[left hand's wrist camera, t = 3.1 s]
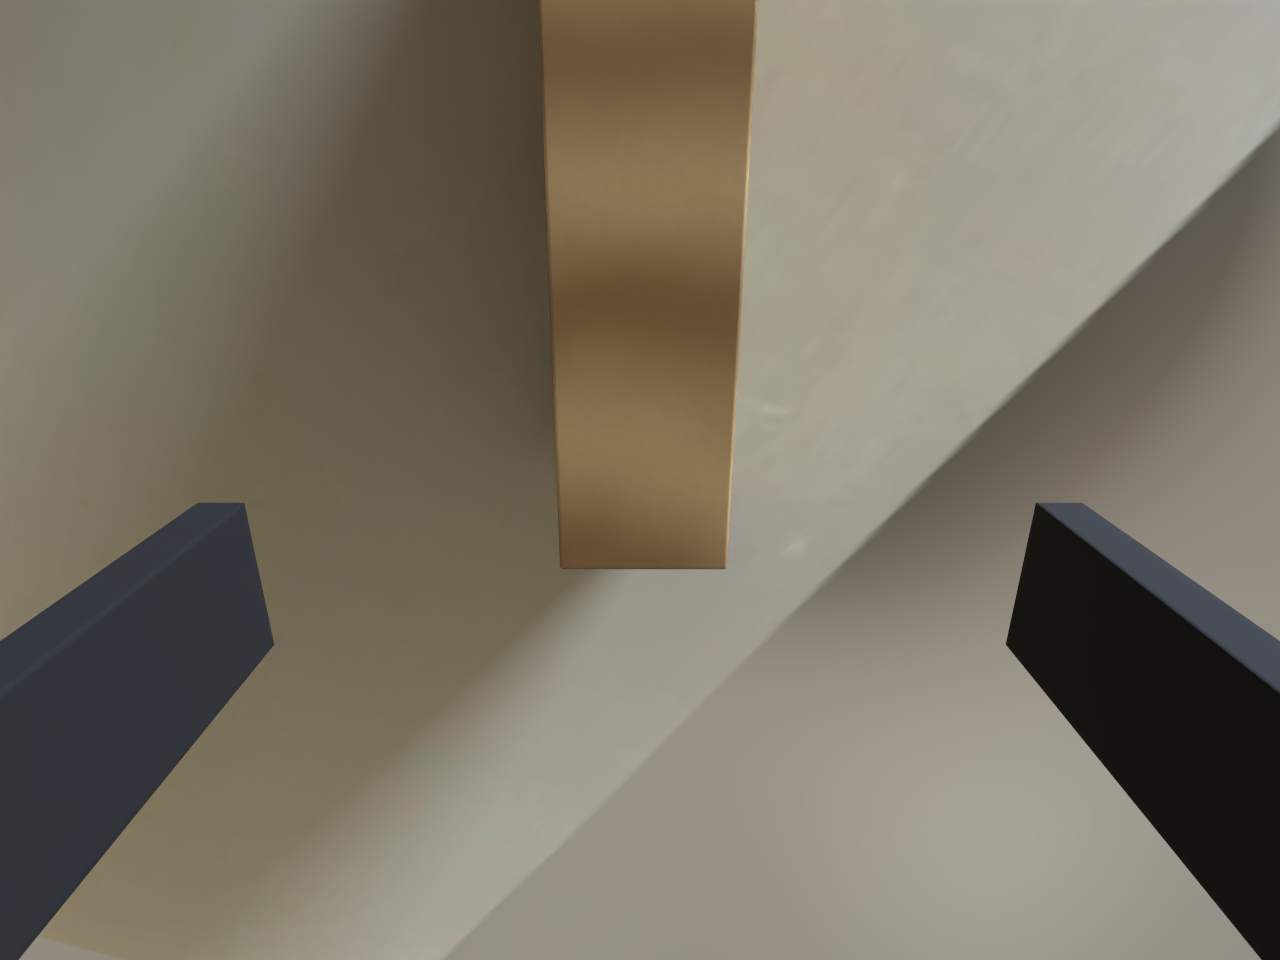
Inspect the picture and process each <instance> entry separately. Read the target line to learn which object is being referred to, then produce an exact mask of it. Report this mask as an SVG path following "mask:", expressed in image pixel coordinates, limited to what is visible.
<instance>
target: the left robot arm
mask: <svg viewBox="0 0 1280 960" xmlns="http://www.w3.org/2000/svg"><path fill="white" fill-rule="evenodd" d="M273 645H274V642H273V637H272V632H271V628H270V623H269V618H268V613H267V609H266V604H265V599H264V595H263V590H262V585H261V581H260V576H259V571H258V567H257V562H256V557H255V552H254V548H253V543H252V538H251V534H250V529H249V524H248V520H247V515H246V510H245V506H244V503H197V504H196V505H194V506H193V507H191V508H190V509H188V510H187V511H186V512H184V513H183V514H181V515H180V516H178V517H177V518H176V519H174V520H173V521H171V522H170V523H168V524H167V525H166V526H164V527H163V528H161V529H160V530H158V531H157V532H156V533H154V534H153V535H151V536H150V537H148V538H147V539H146V540H144V541H143V542H141V543H140V544H138V545H137V546H136V547H134V548H133V549H131V550H130V551H128V552H127V553H126V554H124V555H123V556H121V557H120V558H118V559H117V560H116V561H114V562H113V563H111V564H110V565H108V566H107V567H106V568H104V569H103V570H101V571H100V572H98V573H97V574H96V575H94V576H93V577H91V578H90V579H88V580H87V581H86V582H84V583H83V584H81V585H80V586H78V587H77V588H76V589H74V590H73V591H71V592H70V593H68V594H67V595H66V596H64V597H63V598H61V599H60V600H58V601H57V602H56V603H54V604H53V605H51V606H50V607H48V608H47V609H46V610H44V611H43V612H41V613H40V614H38V615H37V616H36V617H34V618H33V619H31V620H30V621H28V622H27V623H26V624H24V625H23V626H21V627H20V628H18V629H17V630H16V631H14V632H13V633H11V634H10V635H8V636H7V637H6V638H4V639H3V640H1V641H0V960H18V959H19V958H20V957H21V956H22V955H23V953H24V952H25V951H26V950H27V948H28V947H29V946H30V945H31V943H32V942H33V941H34V940H35V939H36V937H37V936H38V935H39V934H40V932H41V931H42V930H43V929H44V927H45V926H46V925H47V924H48V923H49V921H50V920H51V919H52V918H53V916H54V915H55V914H56V913H57V911H58V910H59V909H60V908H61V906H62V905H63V904H64V903H65V902H66V900H67V899H68V898H69V897H70V895H71V894H72V893H73V892H74V890H75V889H76V888H77V887H78V886H79V884H80V883H81V882H82V881H83V879H84V878H85V877H86V876H87V874H88V873H89V872H90V871H91V869H92V868H93V867H94V866H95V865H96V863H97V862H98V861H99V860H100V858H101V857H102V856H103V855H104V853H105V852H106V851H107V850H108V849H109V847H110V846H111V845H112V844H113V842H114V841H115V840H116V839H117V837H118V836H119V835H120V834H121V833H122V831H123V830H124V829H125V828H126V826H127V825H128V824H129V823H130V821H131V820H132V819H133V818H134V816H135V815H136V814H137V813H138V812H139V810H140V809H141V808H142V807H143V805H144V804H145V803H146V802H147V800H148V799H149V798H150V797H151V796H152V794H153V793H154V792H155V791H156V789H157V788H158V787H159V786H160V784H161V783H162V782H163V781H164V780H165V778H166V777H167V776H168V775H169V773H170V772H171V771H172V770H173V768H174V767H175V766H176V765H177V763H178V762H179V761H180V760H181V759H182V757H183V756H184V755H185V754H186V752H187V751H188V750H189V749H190V747H191V746H192V745H193V744H194V743H195V741H196V740H197V739H198V738H199V736H200V735H201V734H202V733H203V731H204V730H205V729H206V728H207V727H208V725H209V724H210V723H211V722H212V720H213V719H214V718H215V717H216V715H217V714H218V713H219V712H220V710H221V709H222V708H223V707H224V706H225V704H226V703H227V702H228V701H229V699H230V698H231V697H232V696H233V694H234V693H235V692H236V691H237V690H238V688H239V687H240V686H241V685H242V683H243V682H244V681H245V680H246V678H247V677H248V676H249V675H250V673H251V672H252V671H253V670H254V669H255V667H256V666H257V665H258V664H259V662H260V661H261V660H262V659H263V657H264V656H265V655H266V654H267V653H268V651H269V650H270V649H271V648H272V646H273ZM1006 645H1007V646H1008V648H1009V649H1010V650H1011V651H1012V653H1013V654H1014V655H1015V656H1016V657H1017V659H1018V660H1019V661H1020V662H1021V664H1022V665H1023V666H1024V667H1025V669H1026V670H1027V671H1028V672H1029V673H1030V675H1031V676H1032V677H1033V678H1034V680H1035V681H1036V682H1037V683H1038V685H1039V686H1040V687H1041V688H1042V689H1043V691H1044V692H1045V693H1046V694H1047V696H1048V697H1049V698H1050V699H1051V701H1052V702H1053V703H1054V704H1055V705H1056V707H1057V708H1058V709H1059V710H1060V712H1061V713H1062V714H1063V715H1064V717H1065V718H1066V719H1067V720H1068V722H1069V723H1070V724H1071V725H1072V726H1073V728H1074V729H1075V730H1076V731H1077V733H1078V734H1079V735H1080V736H1081V738H1082V739H1083V740H1084V741H1085V743H1086V744H1087V745H1088V746H1089V747H1090V749H1091V750H1092V751H1093V752H1094V754H1095V755H1096V756H1097V757H1098V759H1099V760H1100V761H1101V762H1102V763H1103V765H1104V766H1105V767H1106V768H1107V770H1108V771H1109V772H1110V773H1111V775H1112V776H1113V777H1114V778H1115V780H1116V781H1117V782H1118V783H1119V784H1120V786H1121V787H1122V788H1123V789H1124V791H1125V792H1126V793H1127V794H1128V796H1129V797H1130V798H1131V799H1132V800H1133V802H1134V803H1135V804H1136V805H1137V807H1138V808H1139V809H1140V810H1141V812H1142V813H1143V814H1144V815H1145V816H1146V818H1147V819H1148V820H1149V821H1150V823H1151V824H1152V825H1153V826H1154V828H1155V829H1156V830H1157V831H1158V833H1159V834H1160V835H1161V836H1162V837H1163V839H1164V840H1165V841H1166V842H1167V844H1168V845H1169V846H1170V847H1171V849H1172V850H1173V851H1174V852H1175V853H1176V855H1177V856H1178V857H1179V858H1180V860H1181V861H1182V862H1183V863H1184V865H1185V866H1186V867H1187V868H1188V870H1189V871H1190V872H1191V873H1192V874H1193V876H1194V877H1195V878H1196V879H1197V881H1198V882H1199V883H1200V884H1201V886H1202V887H1203V888H1204V889H1205V890H1206V892H1207V893H1208V894H1209V895H1210V897H1211V898H1212V899H1213V900H1214V901H1215V903H1216V904H1217V905H1218V906H1219V908H1220V909H1221V910H1222V911H1223V913H1224V914H1225V915H1226V916H1227V918H1228V919H1229V920H1230V921H1231V923H1232V924H1233V925H1234V926H1235V927H1236V929H1237V930H1238V931H1239V932H1240V933H1241V935H1242V936H1243V937H1244V939H1245V940H1246V941H1247V942H1248V943H1249V945H1250V946H1251V947H1252V948H1253V950H1254V951H1255V952H1256V953H1257V955H1258V956H1259V957H1260V958H1261V959H1262V960H1280V641H1279V640H1277V639H1276V638H1274V637H1273V636H1272V635H1270V634H1269V633H1267V632H1266V631H1264V630H1263V629H1262V628H1260V627H1259V626H1257V625H1256V624H1254V623H1253V622H1252V621H1250V620H1249V619H1247V618H1246V617H1244V616H1243V615H1242V614H1240V613H1239V612H1237V611H1236V610H1234V609H1233V608H1232V607H1230V606H1229V605H1227V604H1226V603H1224V602H1223V601H1222V600H1220V599H1219V598H1217V597H1216V596H1214V595H1213V594H1212V593H1210V592H1209V591H1207V590H1206V589H1204V588H1203V587H1202V586H1200V585H1199V584H1197V583H1196V582H1194V581H1193V580H1192V579H1190V578H1189V577H1187V576H1186V575H1184V574H1183V573H1182V572H1180V571H1179V570H1177V569H1176V568H1174V567H1173V566H1172V565H1170V564H1169V563H1167V562H1166V561H1164V560H1163V559H1162V558H1160V557H1159V556H1157V555H1156V554H1154V553H1153V552H1152V551H1150V550H1149V549H1147V548H1146V547H1144V546H1143V545H1142V544H1140V543H1139V542H1137V541H1136V540H1134V539H1133V538H1132V537H1130V536H1129V535H1127V534H1126V533H1124V532H1123V531H1122V530H1120V529H1119V528H1117V527H1116V526H1114V525H1113V524H1112V523H1110V522H1109V521H1107V520H1106V519H1104V518H1103V517H1102V516H1100V515H1099V514H1097V513H1096V512H1094V511H1093V510H1092V509H1090V508H1089V507H1087V506H1086V505H1084V504H1083V503H1036V506H1035V510H1034V515H1033V520H1032V524H1031V529H1030V534H1029V538H1028V543H1027V548H1026V553H1025V557H1024V562H1023V567H1022V571H1021V576H1020V581H1019V585H1018V590H1017V595H1016V599H1015V604H1014V609H1013V613H1012V618H1011V623H1010V628H1009V632H1008V637H1007V642H1006Z"/></svg>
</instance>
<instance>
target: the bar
mask: <svg viewBox="0 0 1280 960" xmlns="http://www.w3.org/2000/svg"><path fill="white" fill-rule="evenodd" d="M757 14H758V0H538V17H539V42H540V68H541V93H542V118H543V144H544V169H545V195H546V220H547V245H548V271H549V296H550V322H551V347H552V372H553V398H554V423H555V449H556V474H557V499H558V525H559V550H560V566H561V568H562V569H726V567H727V557H728V539H729V521H730V503H731V485H732V467H733V448H734V430H735V412H736V394H737V376H738V358H739V340H740V322H741V304H742V286H743V267H744V249H745V231H746V213H747V195H748V177H749V159H750V141H751V123H752V105H753V87H754V68H755V50H756V32H757Z"/></svg>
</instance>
